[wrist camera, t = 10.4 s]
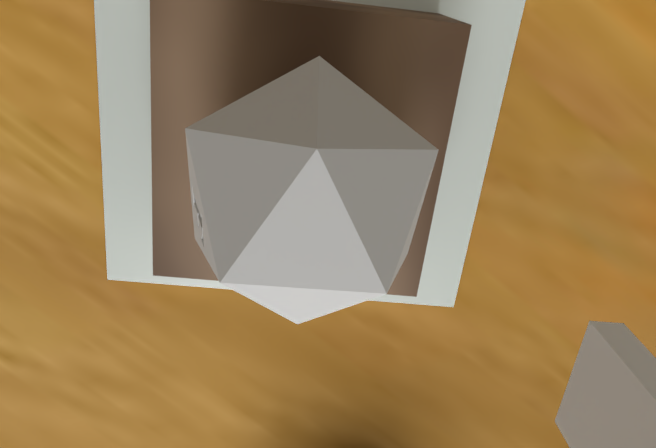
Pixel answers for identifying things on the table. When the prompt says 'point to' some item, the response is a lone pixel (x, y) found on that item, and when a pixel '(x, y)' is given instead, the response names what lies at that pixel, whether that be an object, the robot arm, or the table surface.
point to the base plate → (458, 3)
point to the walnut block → (275, 61)
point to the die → (306, 192)
